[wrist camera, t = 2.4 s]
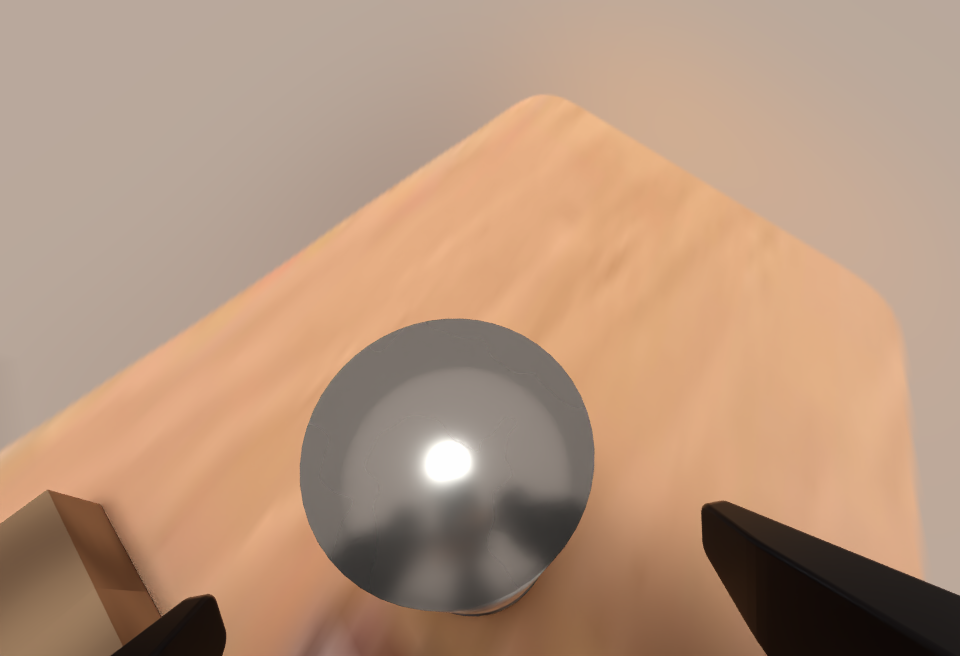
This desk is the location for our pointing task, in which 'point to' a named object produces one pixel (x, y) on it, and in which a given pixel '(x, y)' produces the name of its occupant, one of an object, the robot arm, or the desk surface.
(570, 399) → the chrome banded cylinder
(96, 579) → the brown picture frame
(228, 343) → the desk surface
